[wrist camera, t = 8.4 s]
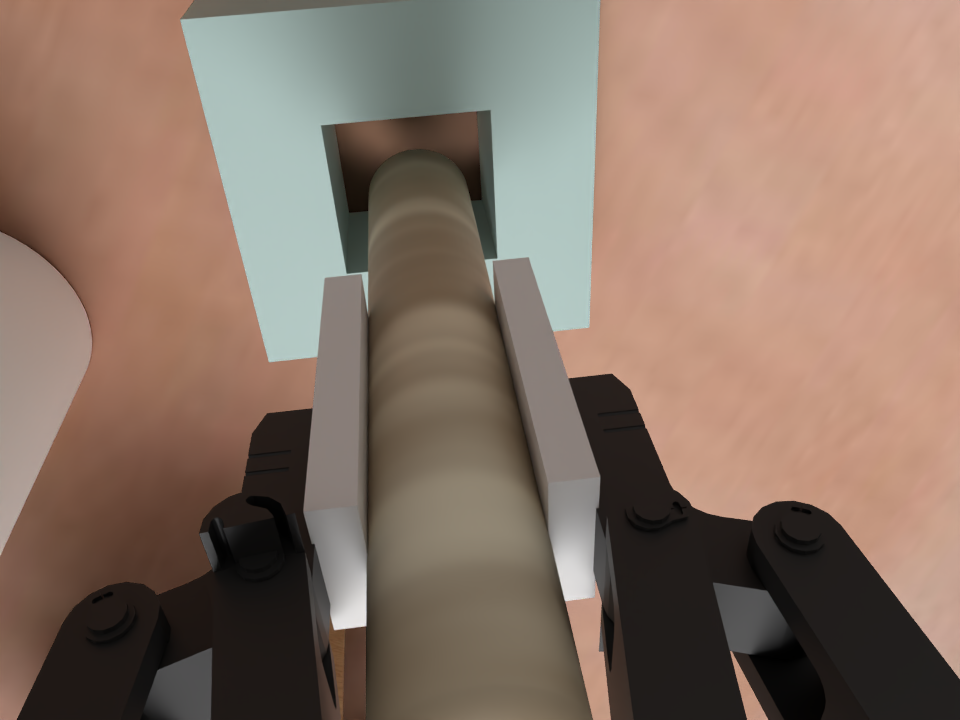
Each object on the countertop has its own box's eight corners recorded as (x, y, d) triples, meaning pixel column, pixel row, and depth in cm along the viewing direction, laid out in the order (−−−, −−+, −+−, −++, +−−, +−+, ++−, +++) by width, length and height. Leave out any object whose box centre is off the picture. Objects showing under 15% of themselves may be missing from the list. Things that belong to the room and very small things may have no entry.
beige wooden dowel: (362, 154, 22) (349, 701, 9) (464, 144, 22) (599, 668, 9) (375, 246, 23) (380, 820, 11) (471, 237, 24) (591, 791, 11)
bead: (207, -17, 22) (180, 19, 19) (567, -46, 23) (600, -16, 20) (280, 294, 28) (269, 362, 25) (564, 264, 29) (589, 327, 25)
